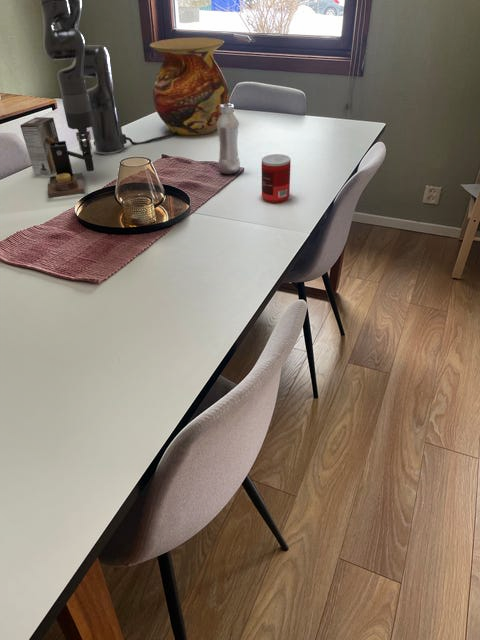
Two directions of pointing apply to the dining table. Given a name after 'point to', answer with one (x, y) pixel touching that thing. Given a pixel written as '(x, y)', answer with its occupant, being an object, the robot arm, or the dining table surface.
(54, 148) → the lever bracket
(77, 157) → the lever
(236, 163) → the plastic bottle
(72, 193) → the switch plate
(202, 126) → the vase
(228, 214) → the dining table surface
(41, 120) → the coffee box
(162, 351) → the dining table surface
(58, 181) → the button
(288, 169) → the canned food
